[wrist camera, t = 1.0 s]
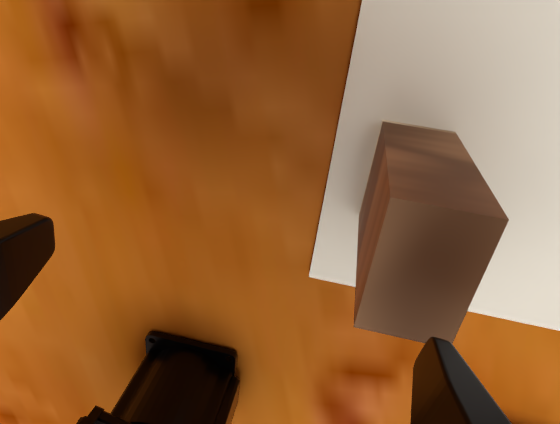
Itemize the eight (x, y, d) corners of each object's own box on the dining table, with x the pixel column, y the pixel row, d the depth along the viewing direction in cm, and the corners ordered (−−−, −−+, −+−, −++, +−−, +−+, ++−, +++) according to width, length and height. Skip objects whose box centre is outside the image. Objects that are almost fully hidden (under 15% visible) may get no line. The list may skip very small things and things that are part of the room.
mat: (310, 270, 24) (308, 276, 23) (385, -122, 15) (386, -126, 14) (642, 341, 22) (648, 349, 21) (957, -62, 13) (981, -64, 12)
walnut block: (358, 215, 21) (353, 326, 14) (382, 119, 18) (390, 197, 11) (422, 227, 20) (449, 348, 14) (455, 131, 18) (509, 219, 11)
